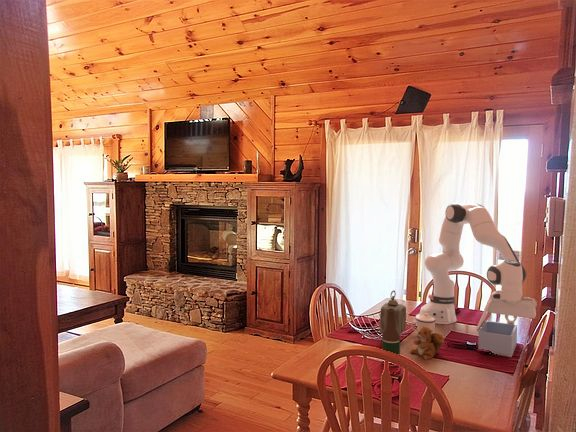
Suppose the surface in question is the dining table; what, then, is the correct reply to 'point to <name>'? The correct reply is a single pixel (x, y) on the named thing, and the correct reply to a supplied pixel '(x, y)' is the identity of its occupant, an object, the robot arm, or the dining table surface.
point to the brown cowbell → (399, 315)
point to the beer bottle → (391, 335)
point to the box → (498, 338)
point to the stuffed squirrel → (428, 343)
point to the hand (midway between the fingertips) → (510, 324)
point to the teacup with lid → (424, 323)
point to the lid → (483, 316)
